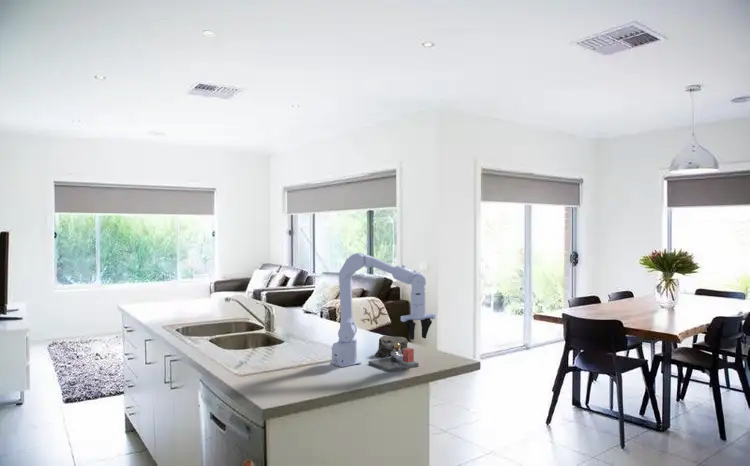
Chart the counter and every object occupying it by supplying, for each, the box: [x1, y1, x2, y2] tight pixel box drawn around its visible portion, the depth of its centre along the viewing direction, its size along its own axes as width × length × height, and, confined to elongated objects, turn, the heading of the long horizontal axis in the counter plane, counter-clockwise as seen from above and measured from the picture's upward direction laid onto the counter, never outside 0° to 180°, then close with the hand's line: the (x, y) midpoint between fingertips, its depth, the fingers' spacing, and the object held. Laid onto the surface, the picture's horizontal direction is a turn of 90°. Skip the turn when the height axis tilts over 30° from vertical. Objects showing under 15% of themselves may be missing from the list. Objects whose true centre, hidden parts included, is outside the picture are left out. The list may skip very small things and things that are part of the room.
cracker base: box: [368, 343, 420, 373], centre depth 204 cm, size 14×14×7 cm
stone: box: [374, 335, 409, 359], centre depth 223 cm, size 18×9×10 cm
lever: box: [390, 347, 415, 363], centre depth 205 cm, size 12×3×5 cm, turn 36°
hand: (418, 338), depth 204 cm, fingers open, 5 cm apart
